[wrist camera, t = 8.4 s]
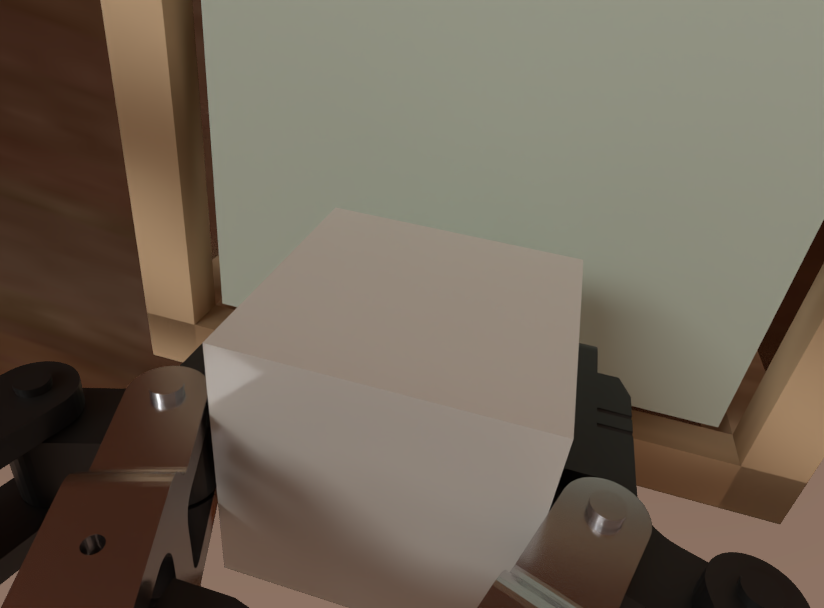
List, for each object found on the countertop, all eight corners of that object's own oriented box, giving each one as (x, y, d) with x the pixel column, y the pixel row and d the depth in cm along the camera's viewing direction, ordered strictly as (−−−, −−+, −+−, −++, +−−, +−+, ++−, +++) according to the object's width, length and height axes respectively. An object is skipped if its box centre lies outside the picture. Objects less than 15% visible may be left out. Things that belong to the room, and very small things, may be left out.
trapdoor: (197, -187, 13) (169, -195, 12) (987, -106, 10) (1021, -110, 9) (227, 284, 19) (209, 300, 18) (727, 406, 16) (733, 431, 16)
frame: (321, -204, 22) (49, -343, 11) (901, -149, 18) (1303, -271, 8) (312, 208, 30) (153, 354, 19) (710, 294, 27) (779, 524, 16)
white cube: (335, 207, 12) (202, 342, 8) (583, 259, 12) (573, 439, 7) (327, 394, 15) (224, 567, 11) (528, 447, 14) (498, 656, 10)
